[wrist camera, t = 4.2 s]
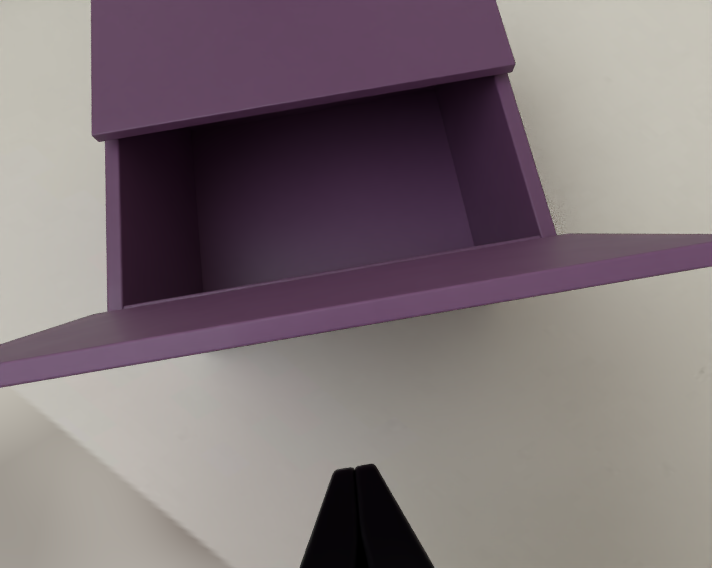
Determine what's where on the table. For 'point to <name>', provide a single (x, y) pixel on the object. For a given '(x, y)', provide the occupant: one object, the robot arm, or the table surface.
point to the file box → (303, 140)
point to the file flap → (346, 301)
